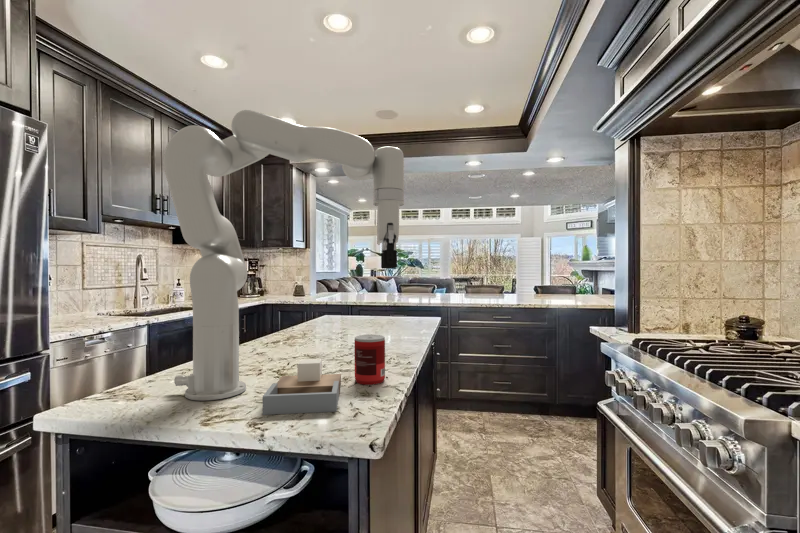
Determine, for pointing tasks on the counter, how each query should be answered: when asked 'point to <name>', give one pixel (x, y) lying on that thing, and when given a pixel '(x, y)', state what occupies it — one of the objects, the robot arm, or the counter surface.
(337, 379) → the board
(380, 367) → the canned food
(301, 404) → the box
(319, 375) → the tile block
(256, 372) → the counter surface
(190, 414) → the counter surface
